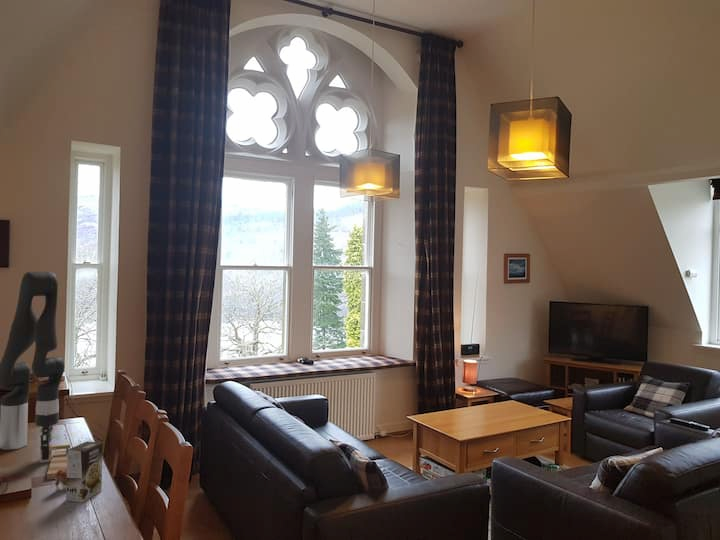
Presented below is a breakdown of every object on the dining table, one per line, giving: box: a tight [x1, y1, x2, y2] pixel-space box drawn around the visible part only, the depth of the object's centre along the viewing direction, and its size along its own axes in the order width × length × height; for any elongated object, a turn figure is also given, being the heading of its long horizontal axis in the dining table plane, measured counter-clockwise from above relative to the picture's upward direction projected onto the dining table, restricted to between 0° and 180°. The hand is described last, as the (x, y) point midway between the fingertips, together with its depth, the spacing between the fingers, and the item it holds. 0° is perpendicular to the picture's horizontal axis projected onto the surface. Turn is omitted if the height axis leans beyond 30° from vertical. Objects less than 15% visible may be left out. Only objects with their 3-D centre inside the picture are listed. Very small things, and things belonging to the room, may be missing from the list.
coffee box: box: [65, 441, 104, 503], centre depth 175 cm, size 9×6×16 cm
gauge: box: [39, 441, 72, 463], centre depth 206 cm, size 4×10×6 cm, turn 114°
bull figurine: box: [54, 467, 67, 492], centre depth 183 cm, size 4×13×8 cm, turn 161°
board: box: [46, 449, 68, 480], centre depth 199 cm, size 24×6×2 cm, turn 24°
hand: (45, 457), depth 204 cm, fingers closed on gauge, 4 cm apart
